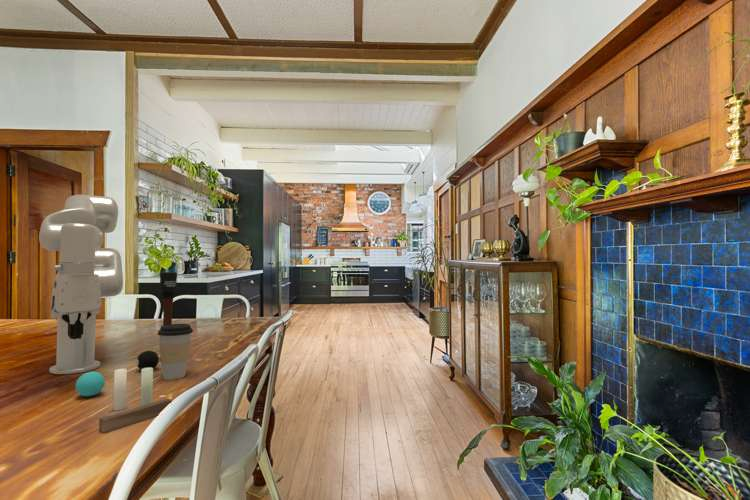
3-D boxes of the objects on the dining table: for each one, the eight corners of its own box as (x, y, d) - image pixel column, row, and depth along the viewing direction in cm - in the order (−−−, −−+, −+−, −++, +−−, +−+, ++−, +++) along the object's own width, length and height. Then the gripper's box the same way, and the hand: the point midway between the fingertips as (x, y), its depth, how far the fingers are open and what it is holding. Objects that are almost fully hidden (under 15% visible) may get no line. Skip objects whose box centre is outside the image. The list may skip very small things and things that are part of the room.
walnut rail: (99, 430, 80) (99, 418, 80) (166, 409, 92) (166, 398, 92) (103, 433, 79) (104, 420, 79) (171, 410, 91) (171, 400, 91)
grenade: (157, 363, 131) (159, 272, 132) (156, 359, 136) (158, 272, 136) (176, 360, 134) (178, 272, 135) (174, 357, 139) (176, 272, 139)
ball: (71, 396, 99) (71, 372, 99) (97, 390, 104) (98, 367, 104) (81, 401, 96) (82, 377, 96) (108, 394, 101) (109, 371, 101)
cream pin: (111, 409, 91) (112, 370, 92) (122, 406, 94) (123, 367, 94) (116, 411, 90) (117, 372, 90) (127, 408, 92) (128, 369, 92)
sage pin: (138, 407, 93) (139, 369, 93) (148, 404, 95) (149, 366, 95) (143, 409, 91) (144, 370, 92) (154, 406, 93) (155, 368, 94)
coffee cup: (155, 383, 110) (157, 329, 110) (156, 374, 119) (158, 324, 119) (192, 379, 115) (194, 327, 115) (191, 370, 123) (192, 322, 123)
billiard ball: (161, 370, 123) (161, 351, 123) (139, 374, 118) (140, 354, 119) (154, 366, 127) (155, 347, 127) (133, 370, 123) (134, 350, 123)
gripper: (48, 270, 97) (46, 344, 97) (114, 269, 110) (112, 335, 109) (36, 269, 101) (34, 341, 101) (102, 269, 114) (100, 332, 113)
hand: (75, 338), depth 105 cm, fingers closed
